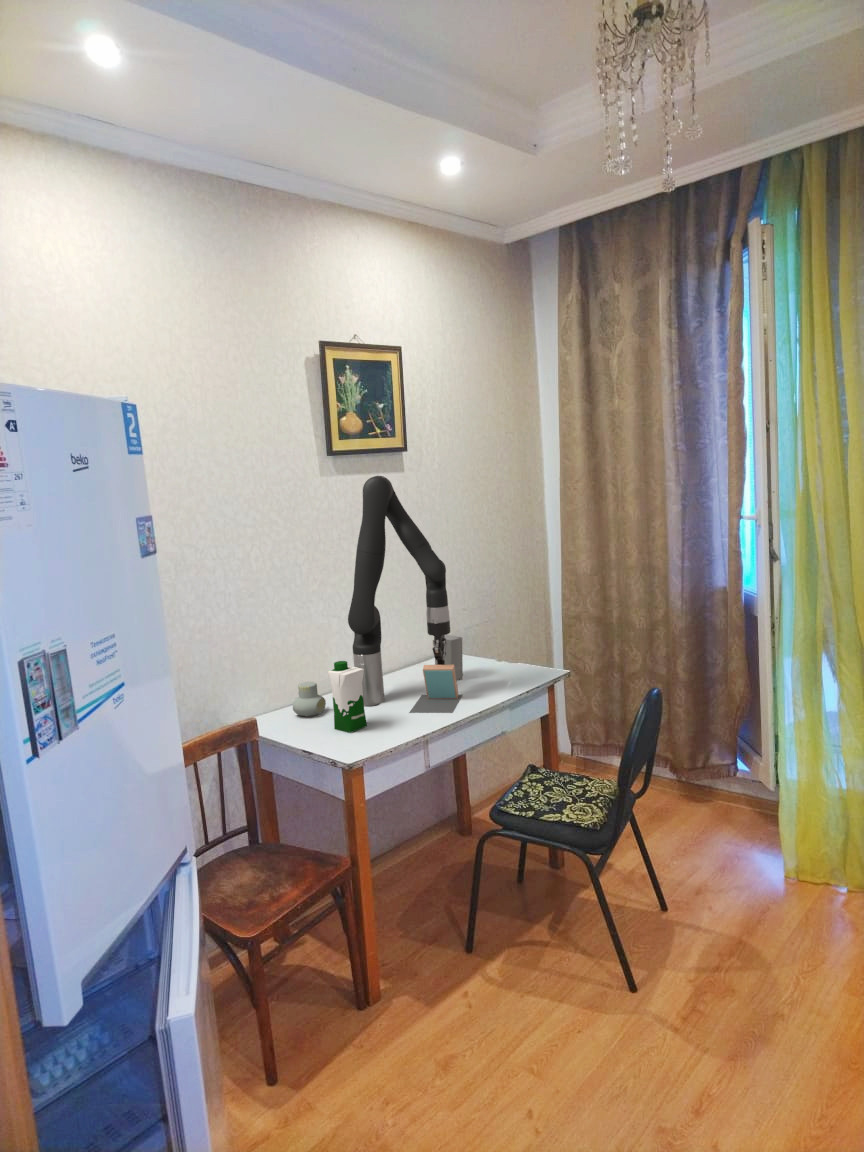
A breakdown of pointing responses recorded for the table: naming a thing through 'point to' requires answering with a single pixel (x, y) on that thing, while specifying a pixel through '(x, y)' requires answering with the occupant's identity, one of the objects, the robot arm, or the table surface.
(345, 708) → the milk carton
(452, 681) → the glazed tile
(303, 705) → the grey rounded piece
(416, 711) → the rubber mat
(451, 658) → the skincare box
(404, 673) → the table surface
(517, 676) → the table surface
